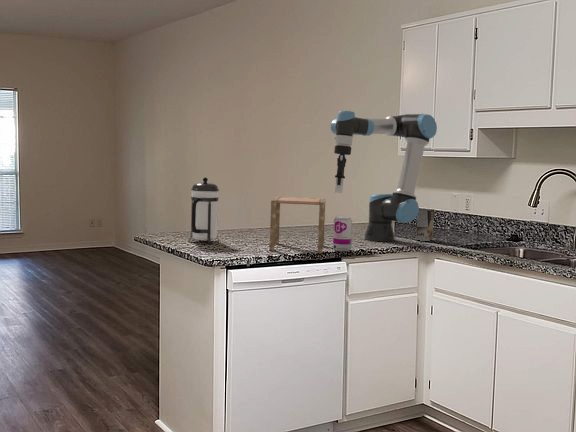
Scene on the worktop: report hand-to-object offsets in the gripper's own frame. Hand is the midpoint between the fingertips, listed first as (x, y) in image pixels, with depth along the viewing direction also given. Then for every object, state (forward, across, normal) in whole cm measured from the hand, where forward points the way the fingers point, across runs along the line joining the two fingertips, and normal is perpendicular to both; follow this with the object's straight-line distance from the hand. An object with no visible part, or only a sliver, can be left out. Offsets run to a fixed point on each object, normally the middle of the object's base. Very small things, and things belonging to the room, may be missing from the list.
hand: (338, 192), depth 311 cm
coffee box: (+21, -44, +44) cm, 66 cm away
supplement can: (+26, +2, +4) cm, 26 cm away
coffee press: (+29, 0, -60) cm, 67 cm away
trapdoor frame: (+27, +3, -16) cm, 31 cm away
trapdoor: (+7, +4, -17) cm, 19 cm away
